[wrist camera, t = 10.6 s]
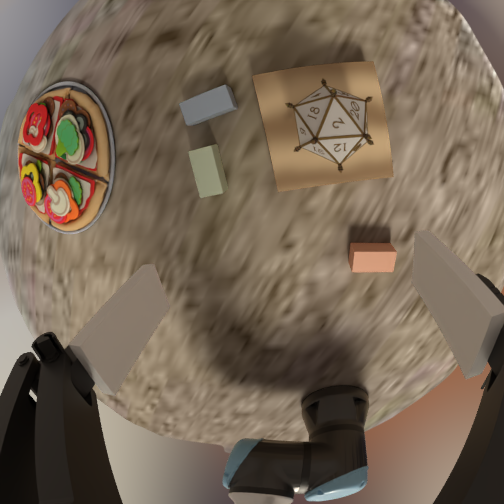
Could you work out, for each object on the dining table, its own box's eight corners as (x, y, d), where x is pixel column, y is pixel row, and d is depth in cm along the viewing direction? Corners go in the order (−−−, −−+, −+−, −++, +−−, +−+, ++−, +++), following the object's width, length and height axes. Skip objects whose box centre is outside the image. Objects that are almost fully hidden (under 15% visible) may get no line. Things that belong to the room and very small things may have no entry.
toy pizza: (34, 77, 29) (18, 78, 25) (139, 93, 30) (122, 91, 27) (18, 204, 42) (5, 211, 38) (105, 254, 43) (91, 266, 39)
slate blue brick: (231, 87, 29) (225, 84, 26) (238, 108, 30) (233, 107, 27) (187, 105, 30) (178, 103, 28) (195, 125, 32) (186, 125, 29)
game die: (315, 111, 29) (309, 49, 20) (379, 139, 27) (395, 78, 17) (279, 165, 29) (261, 106, 19) (349, 199, 26) (363, 146, 17)
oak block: (385, 172, 30) (393, 176, 28) (279, 186, 34) (278, 192, 31) (366, 66, 25) (373, 61, 22) (255, 80, 28) (251, 75, 25)
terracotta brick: (390, 242, 35) (396, 251, 32) (387, 261, 36) (393, 271, 33) (350, 242, 36) (354, 251, 33) (348, 261, 37) (352, 272, 34)
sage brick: (228, 187, 35) (223, 193, 32) (207, 192, 35) (200, 198, 33) (217, 143, 32) (211, 145, 30) (196, 149, 33) (187, 151, 30)
